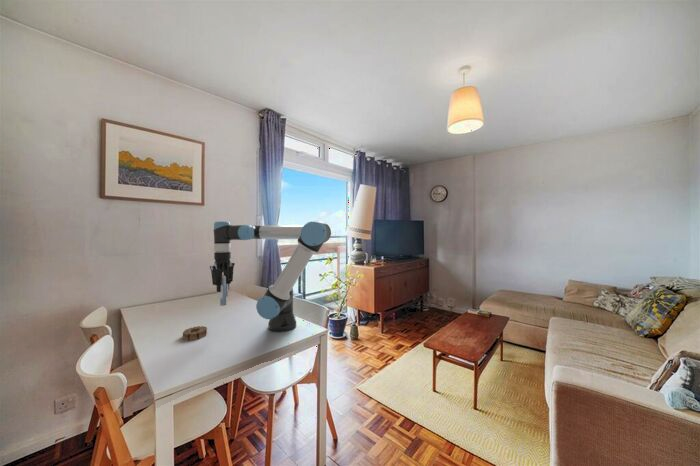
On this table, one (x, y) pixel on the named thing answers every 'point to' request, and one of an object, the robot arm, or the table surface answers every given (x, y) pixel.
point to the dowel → (223, 300)
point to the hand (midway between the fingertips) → (223, 297)
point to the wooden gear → (194, 333)
